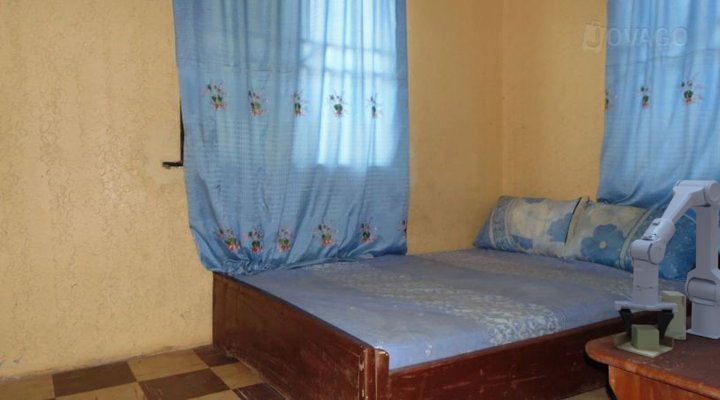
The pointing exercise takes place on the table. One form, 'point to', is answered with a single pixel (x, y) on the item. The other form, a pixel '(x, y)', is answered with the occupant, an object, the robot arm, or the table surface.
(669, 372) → the table surface
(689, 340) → the table surface
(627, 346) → the arena
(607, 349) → the table surface
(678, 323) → the skincare box
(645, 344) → the olive cube
